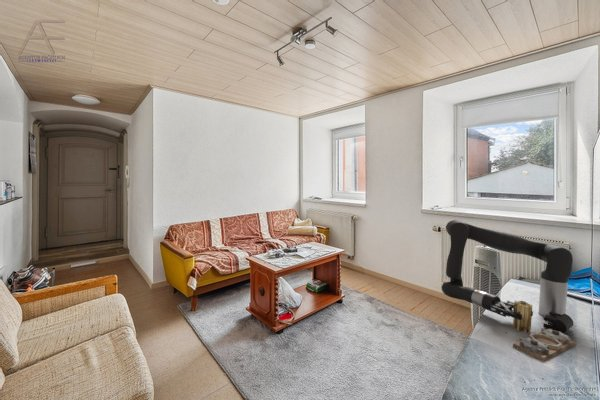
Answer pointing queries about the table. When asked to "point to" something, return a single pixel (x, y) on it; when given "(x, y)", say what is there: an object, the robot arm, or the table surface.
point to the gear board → (545, 344)
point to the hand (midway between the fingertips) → (527, 315)
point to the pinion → (523, 316)
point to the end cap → (558, 322)
